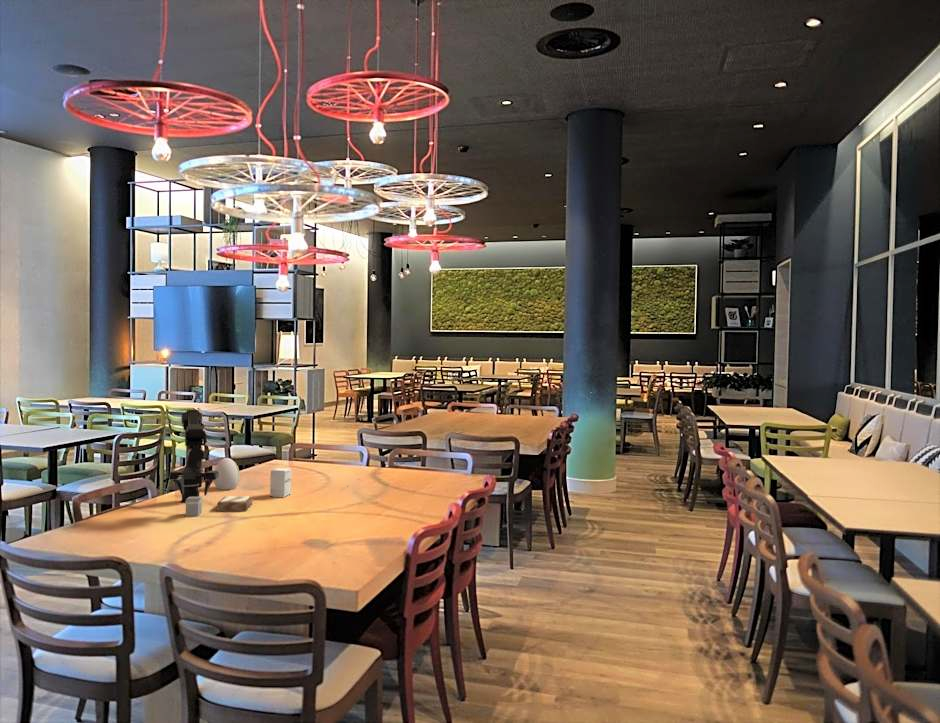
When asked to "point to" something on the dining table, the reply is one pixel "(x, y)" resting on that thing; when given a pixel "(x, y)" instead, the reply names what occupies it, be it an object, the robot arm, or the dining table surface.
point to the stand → (234, 503)
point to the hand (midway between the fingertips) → (193, 495)
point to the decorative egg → (227, 474)
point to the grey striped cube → (193, 506)
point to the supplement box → (280, 482)
